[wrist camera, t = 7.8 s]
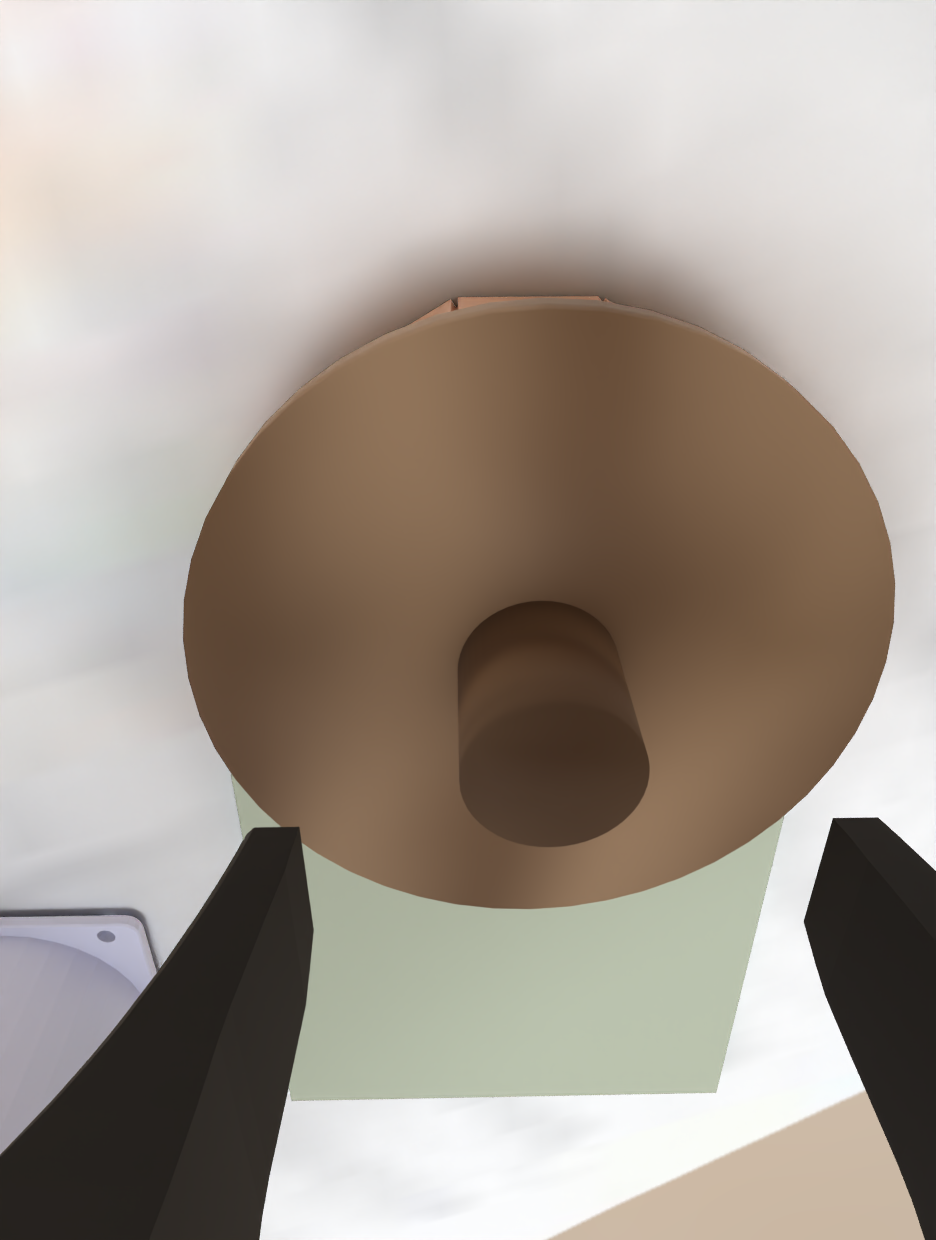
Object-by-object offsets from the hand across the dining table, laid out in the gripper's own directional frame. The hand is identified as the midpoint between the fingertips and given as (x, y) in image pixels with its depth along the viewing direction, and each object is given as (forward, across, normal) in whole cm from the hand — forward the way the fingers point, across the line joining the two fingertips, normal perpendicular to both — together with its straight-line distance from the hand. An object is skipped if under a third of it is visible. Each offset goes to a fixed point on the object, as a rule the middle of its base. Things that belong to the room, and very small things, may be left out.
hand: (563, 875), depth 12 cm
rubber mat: (+10, 0, +14) cm, 17 cm away
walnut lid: (+6, 0, 0) cm, 6 cm away
